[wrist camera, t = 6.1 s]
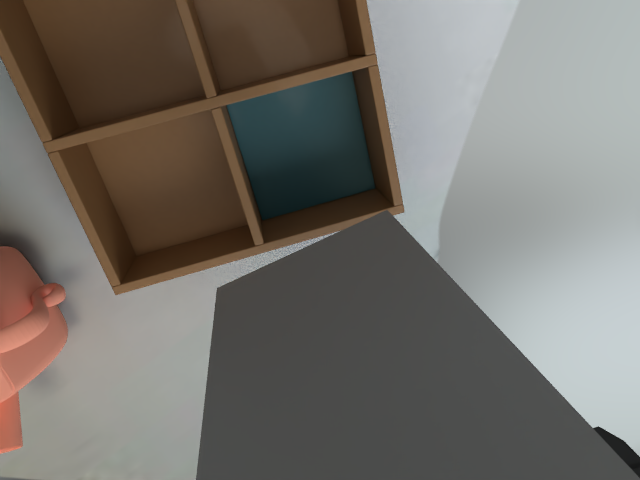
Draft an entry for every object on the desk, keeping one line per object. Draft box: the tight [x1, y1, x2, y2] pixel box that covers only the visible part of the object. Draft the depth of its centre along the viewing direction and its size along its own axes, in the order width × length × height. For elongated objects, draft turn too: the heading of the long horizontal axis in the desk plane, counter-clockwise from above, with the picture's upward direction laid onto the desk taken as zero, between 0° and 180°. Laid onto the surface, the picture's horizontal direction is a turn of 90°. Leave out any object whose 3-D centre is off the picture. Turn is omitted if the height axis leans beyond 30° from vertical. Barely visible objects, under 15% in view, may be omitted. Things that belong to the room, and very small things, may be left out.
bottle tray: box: [0, 0, 404, 295], centre depth 28 cm, size 19×19×5 cm
